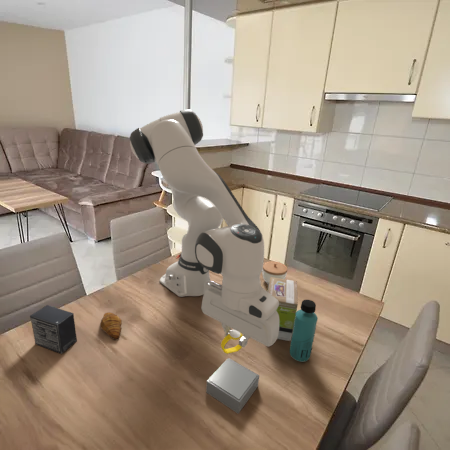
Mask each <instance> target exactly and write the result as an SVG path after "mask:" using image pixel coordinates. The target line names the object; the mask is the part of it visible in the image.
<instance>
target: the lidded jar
mask: <svg viewBox="0 0 450 450" xmlns="http://www.w3.org/2000/svg"><path fill="white" fill-rule="evenodd" d="M261 274H262V278H263V280H264V281H265V283H266V284H267V286H268V285H269V280H270V277H273V278H280V279H285V280H286V277H287V274H288V267H287V266H286V265H285V264H284V263H282V262H280V261H273V260H271V261H266V262H263V269H262V272H261Z"/></svg>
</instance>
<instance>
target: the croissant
mask: <svg viewBox="0 0 450 450" xmlns="http://www.w3.org/2000/svg"><path fill="white" fill-rule="evenodd" d="M122 324H123V323H122V319H121V318H120V317H119V316H118V314H114V313H112V312H105V313H104V314H103V317H102V319H100V324H99V325H100V326H99V327H100V328H101V329H102V330H103V331H104V332H105V334H106V335H108V337H110V339H112V340H114V341H116V340H119V339H120V336H121V333H122V329H123V328H122Z"/></svg>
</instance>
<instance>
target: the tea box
mask: <svg viewBox="0 0 450 450" xmlns="http://www.w3.org/2000/svg"><path fill="white" fill-rule="evenodd" d="M267 286H268V287H267V290H266V291H267V292H268V293H269V294H271V295H272V296H273V297H275V298H276V299H277V300H278V301H279V306H278V308H277V310H276V311H277V313H278V315H279V334H278V338H277V340H281V341H282V340H283V341H287V342H288V341H289V342H291V339H292V337H291V336H292V333H293V329H294V323H295V317H296V312H297V311H298V302H299V301H298V300H299V299H298V298H299V297H298V282H297V281H296V280H291V279H286V278H285V279H280V278H273V277H270V280H269V285H268V284H267Z"/></svg>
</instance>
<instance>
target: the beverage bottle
mask: <svg viewBox="0 0 450 450" xmlns="http://www.w3.org/2000/svg"><path fill="white" fill-rule="evenodd" d="M317 322H318V316H317V313H316V302H314V300H311V299H303V300H302V301H301V304H300V309H297V311H296V316H295V321H294V327H293V332H292V336H291V340H290V343H289V345H290V346H289V355H290V357H292V359H294V360H295V361H297V362H301V363H304V362H307V361H308V360H309V359H310V358H311V354H312V350H313V346H314V345H313V344H314V342H315V341H314V338H315V334H316V330H317Z"/></svg>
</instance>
